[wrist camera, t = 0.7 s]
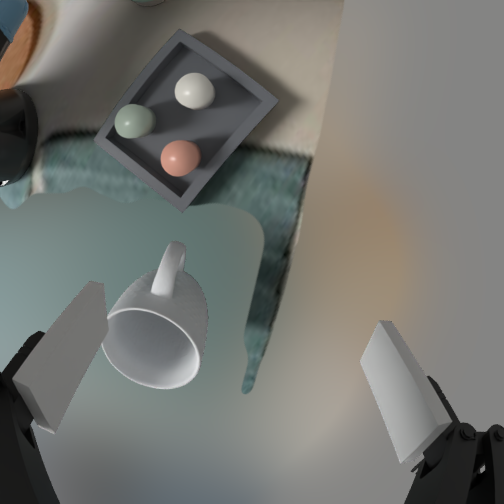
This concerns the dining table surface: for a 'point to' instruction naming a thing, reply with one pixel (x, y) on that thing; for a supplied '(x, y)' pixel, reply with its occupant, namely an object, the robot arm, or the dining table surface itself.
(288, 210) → the dining table surface
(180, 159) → the button coral
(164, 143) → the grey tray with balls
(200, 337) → the mug
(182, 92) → the button ivory
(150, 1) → the coffee cup
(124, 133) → the button sage
